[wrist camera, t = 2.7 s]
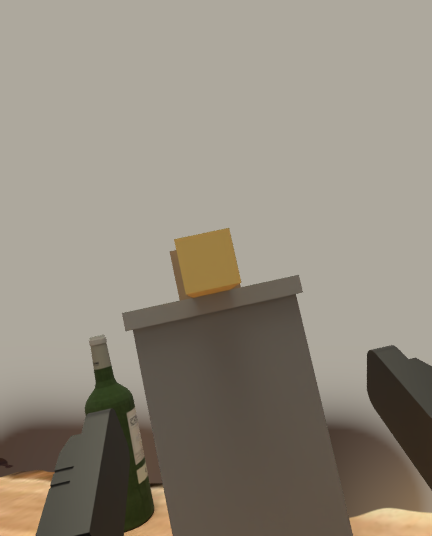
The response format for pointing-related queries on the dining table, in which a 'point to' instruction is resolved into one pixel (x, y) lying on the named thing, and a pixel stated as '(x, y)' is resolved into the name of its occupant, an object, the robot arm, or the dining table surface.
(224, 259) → the peg
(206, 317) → the stand
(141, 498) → the wine bottle
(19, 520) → the dining table surface
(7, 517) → the dining table surface
